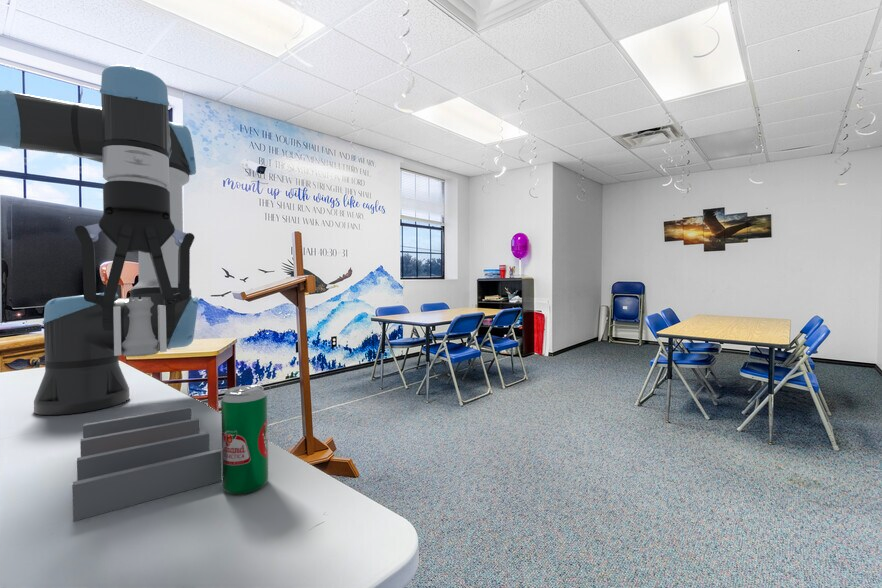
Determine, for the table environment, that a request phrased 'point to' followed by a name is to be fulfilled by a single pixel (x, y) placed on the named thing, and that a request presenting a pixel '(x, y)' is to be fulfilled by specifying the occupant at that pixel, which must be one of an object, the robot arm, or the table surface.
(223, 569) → the table surface
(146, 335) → the rook chess piece
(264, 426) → the soda can
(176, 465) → the stepped slat stand
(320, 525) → the table surface
